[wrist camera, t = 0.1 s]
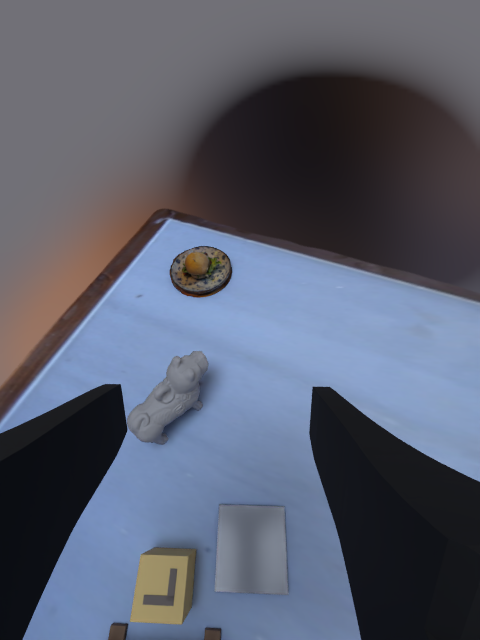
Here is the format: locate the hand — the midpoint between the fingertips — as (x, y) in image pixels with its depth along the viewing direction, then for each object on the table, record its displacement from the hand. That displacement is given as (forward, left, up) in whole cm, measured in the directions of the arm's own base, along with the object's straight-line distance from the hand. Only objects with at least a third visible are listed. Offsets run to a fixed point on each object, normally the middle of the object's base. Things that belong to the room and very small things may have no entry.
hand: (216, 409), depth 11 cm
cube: (-11, +8, -32) cm, 35 cm away
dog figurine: (+8, +10, -32) cm, 35 cm away
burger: (+34, +9, -32) cm, 48 cm away
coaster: (-8, -1, -32) cm, 33 cm away
